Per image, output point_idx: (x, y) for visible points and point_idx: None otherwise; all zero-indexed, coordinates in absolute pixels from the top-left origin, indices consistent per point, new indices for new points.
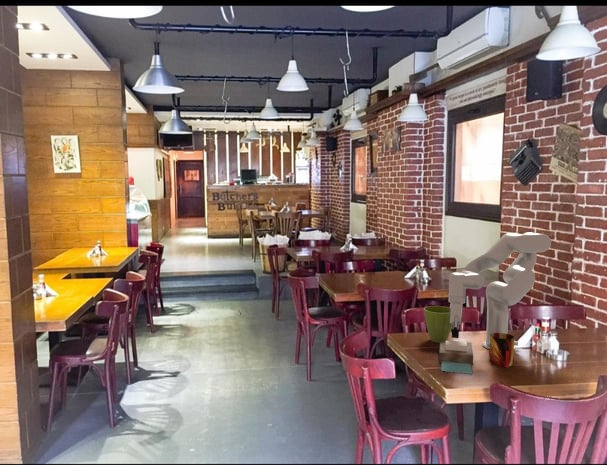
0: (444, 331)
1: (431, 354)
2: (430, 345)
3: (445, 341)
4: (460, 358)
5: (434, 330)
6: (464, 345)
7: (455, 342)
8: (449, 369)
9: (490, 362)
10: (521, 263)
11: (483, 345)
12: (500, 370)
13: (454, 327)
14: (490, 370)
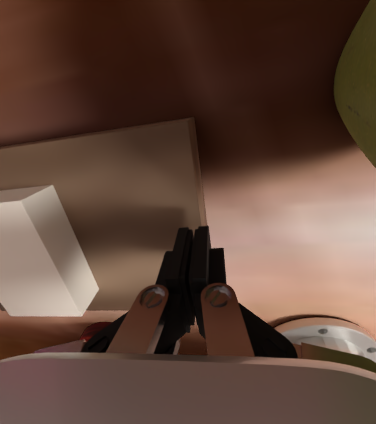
0: (363, 146)
1: (30, 84)
2: (236, 21)
3: (158, 170)
4: None
5: None
6: (8, 306)
7: (25, 264)
8: None
9: (94, 325)
10: None
11: (301, 323)
12: (45, 338)
13: (103, 335)
14: (23, 319)
